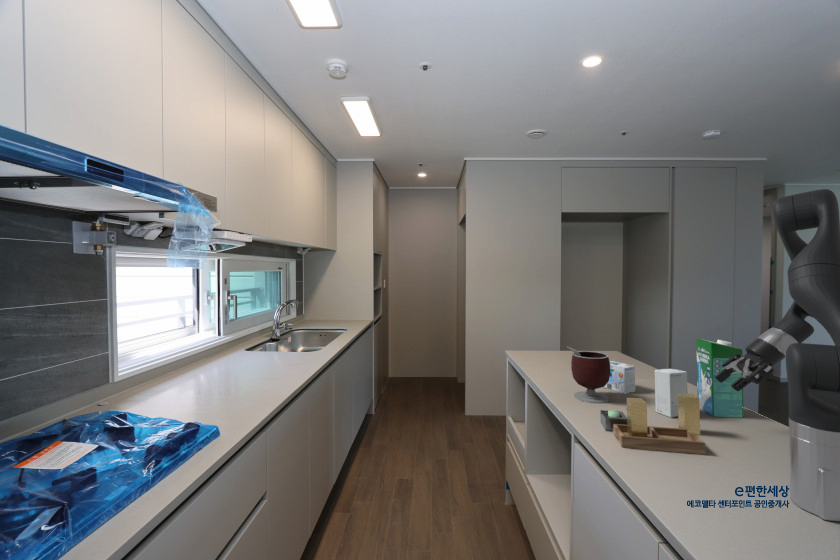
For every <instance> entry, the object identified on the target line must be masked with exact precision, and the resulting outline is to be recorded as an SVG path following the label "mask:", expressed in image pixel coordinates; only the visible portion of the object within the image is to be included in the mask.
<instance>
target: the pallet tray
mask: <svg viewBox="0 0 840 560" xmlns="http://www.w3.org/2000/svg"><path fill="white" fill-rule="evenodd" d="M612 434H613V436H614V437H615V439H616V440H617V442H618V443H619V445H620V447H621V448H624V449H636V450H647V451H648V450H649V451H650V450H651V451H658V452H659V451H661V452H671V453H672V452H674V453H684V454H685V453H686V454H697V455H706V442H704V441H703V439H701V438H700V437H699V436H697V435H695V434H694V433H693V432H692V431H691V430H689V429H680V428H679V427H678V428H677V427H664V426H662V427H661V426H651V425H650V426H648V425H647V436H648V438H647V437H634V436H628V435H627V425H623V424H613V431H612Z"/></svg>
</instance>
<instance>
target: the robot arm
mask: <svg viewBox="0 0 840 560" xmlns="http://www.w3.org/2000/svg"><path fill="white" fill-rule="evenodd" d="M835 194H836V193H834V192H833V191H832V190H831V189H829V188H823V189H822V188H821V189H815V190H814V189H813V190H809V191H805V192H800V193H795V194H791V195H786V196H782V197H778V198H776V199H775V200H774V201H773V204H772V217H773V221H774V225H775V228H776V230H777V233H778V235H779V237H780V240H781V242H782V244H783V247H784V248H785V251H786V253H787V256H788V257H789V260H790V262H791V263H790V264H789V266H788V268H787V273H786V274H787V282H788V283H787V284H788V291H789V292H788V293H789V296H790V297H791V298H792V300H793V301H792V304H791V306H790V307H789V309H788V310H787V312H786V313H785V315H783V317H782V319H780V320H779V321H777V323H775V324H774V325H772V326H771V328H769V329H767V330H765V332H763V333H762V334H760V335H759V336H758V337H756V338H755V340H753V341H752V342H750V344H748V345H747V346H746V347H745V351H746V354H744V355H742V356H741V355H740V354H739V353H737V354H735V355H734V356H732V357H731V358H730V359H729V360H727V361H726V362H725V363H723V364H722V366H723V369H724V370H722V371H721V372H720V373H719V374H718V375H716V376H715V379H716V380H718V381H719V382H721V383H722V382H724V381H725V380H726V379H727V378H728V377H730V376H731V375H732V374H734V373H742V372H743V376H742V377H743V378H742V377H740V378H739V379H738V380H737V381H735V382H734V383H733V384H732V385H731V387H732V388H733V389H735V390H736V391H740V390H741V389H743V390H744V388H745V387H747V385H749V384H751V385H752V384H756V385H758V384H760V383H761V382H763V381H764V380H765V379H766V378H767V377H768V376H770V374H771V373H773V372H774V371H775V369H774V367H775V366H776V365H778V364H779V363H780V362H781V361H783V360H784V359H785V370H786V377H787V390H788V392H787V393H788V447H789V448H788V450H789V451H788V453H789V454H788V455H789V457H788V458H789V493H790V494H789V495H790V500H791V502H792V503H794V504H795V505H796V506H797V507H798V508H799V507H800V508H801V509H803V510H804V511H807V512H809V513H810V514H813V515H815V516H818V517H820V519H822V520H825V521H833V522H840V407H838V406H837V405H835V404H831V403H828V402H826V401H825V400H821V399H820V398H818V397H817V396H815V395H813V393H811V390H814V391H822V392H823V391H824V392H829V393H830V392H831V393H838V394H840V209H839V203H838V202H839V201H838V197H837V196H836V195H835ZM809 229H817V230H816V232H815V233H814V236H813V237H812V239H811V240H810V241H809V242H808V243H807V242H806V241H804V240H803V239H802V238H801V237H800V236H799V234H798V233H797V231H804V230H809ZM807 317H811V318H813V319H814V320H816V321H817V322H818V323H819V324H820V325H821V326H822V327H823V328H824V329H825V331H826V333H828V335H829V337H830V338H831V340H832V342H833V345H831V344H820V343H819V344H818V343H804V341H805V340H806V341H807V339H809V337H811V336H812V335H813V334H814V333H815V328H814V326H813V325H812V324H811V323H809V322H808V321H807V320H806V318H807ZM729 363H730V365H728V364H729ZM733 369H735V370H733Z"/></svg>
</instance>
